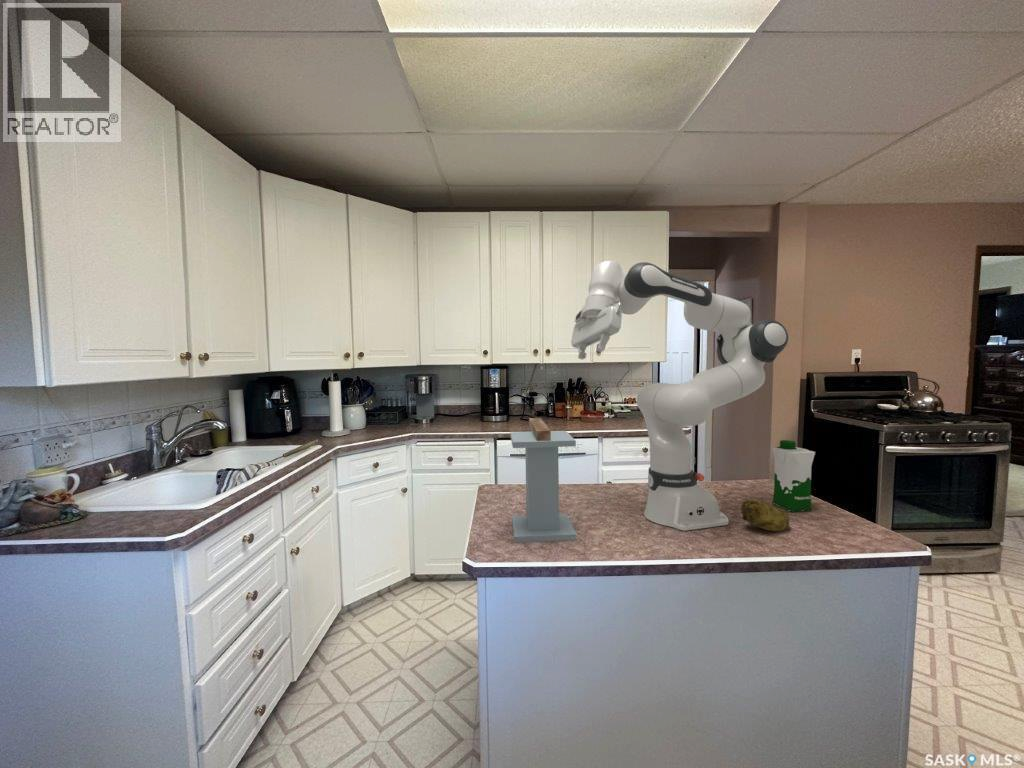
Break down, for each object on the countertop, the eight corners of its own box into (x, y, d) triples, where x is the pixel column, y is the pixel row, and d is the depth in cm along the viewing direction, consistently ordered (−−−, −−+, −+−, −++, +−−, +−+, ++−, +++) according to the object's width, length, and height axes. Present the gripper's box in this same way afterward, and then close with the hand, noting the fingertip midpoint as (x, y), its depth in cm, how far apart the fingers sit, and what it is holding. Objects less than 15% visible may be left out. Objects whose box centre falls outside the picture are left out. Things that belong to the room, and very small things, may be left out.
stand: (566, 518, 117) (565, 430, 116) (576, 540, 103) (575, 440, 102) (512, 520, 117) (510, 432, 115) (514, 542, 103) (512, 442, 101)
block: (540, 425, 124) (540, 417, 124) (550, 440, 102) (550, 430, 102) (529, 426, 124) (529, 418, 124) (537, 440, 102) (536, 431, 102)
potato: (801, 537, 103) (801, 506, 102) (747, 534, 105) (748, 505, 104) (783, 523, 111) (784, 495, 111) (734, 522, 113) (734, 494, 112)
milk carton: (792, 501, 128) (793, 439, 127) (817, 511, 119) (819, 445, 118) (767, 503, 127) (769, 440, 125) (791, 514, 118) (793, 446, 116)
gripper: (630, 303, 109) (622, 349, 106) (588, 326, 128) (580, 365, 124) (611, 294, 107) (603, 341, 104) (572, 318, 126) (563, 359, 122)
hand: (590, 354), depth 114 cm, fingers open, 8 cm apart
